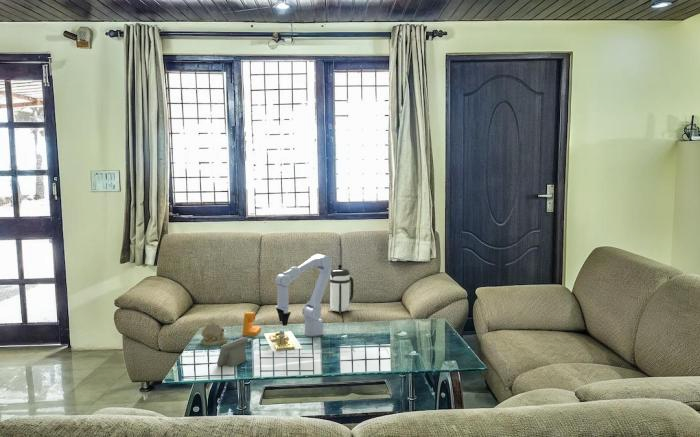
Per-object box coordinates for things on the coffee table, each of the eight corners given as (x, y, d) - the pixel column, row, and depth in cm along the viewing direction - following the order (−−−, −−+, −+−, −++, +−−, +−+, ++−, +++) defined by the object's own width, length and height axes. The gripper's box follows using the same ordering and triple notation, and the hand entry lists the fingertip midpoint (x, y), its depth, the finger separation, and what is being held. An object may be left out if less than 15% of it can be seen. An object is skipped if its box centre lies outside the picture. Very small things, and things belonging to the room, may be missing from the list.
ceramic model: (196, 344, 262) (195, 325, 261) (206, 337, 273) (205, 319, 272) (222, 346, 260) (222, 327, 259) (231, 339, 271) (231, 320, 270)
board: (291, 332, 282) (291, 331, 282) (302, 349, 256) (302, 348, 256) (263, 335, 278) (263, 333, 278) (272, 352, 251) (272, 351, 251)
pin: (283, 342, 264) (283, 330, 264) (284, 343, 262) (284, 332, 261) (279, 342, 264) (278, 331, 263) (279, 344, 261) (279, 332, 261)
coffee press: (353, 315, 317) (353, 267, 314) (327, 314, 317) (327, 266, 314) (353, 307, 334) (353, 261, 331) (328, 307, 334) (328, 261, 331)
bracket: (256, 337, 274) (255, 315, 273) (242, 336, 275) (242, 314, 274) (261, 331, 285) (261, 309, 284) (248, 330, 286) (248, 309, 284)
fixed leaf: (289, 340, 267) (289, 334, 266) (294, 348, 255) (294, 341, 255) (272, 342, 264) (272, 335, 264) (276, 350, 252) (276, 343, 252)
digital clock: (242, 355, 247) (242, 334, 246) (253, 360, 241) (253, 338, 240) (212, 364, 236) (212, 342, 235) (223, 370, 229) (223, 347, 228)
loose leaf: (286, 335, 275) (286, 327, 275) (288, 339, 268) (288, 332, 268) (269, 336, 272) (269, 329, 272) (271, 341, 265) (271, 333, 265)
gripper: (272, 294, 271) (272, 320, 272) (278, 301, 257) (278, 328, 258) (285, 293, 273) (286, 318, 274) (291, 300, 259) (292, 326, 261)
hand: (283, 323), depth 267 cm, fingers open, 7 cm apart
